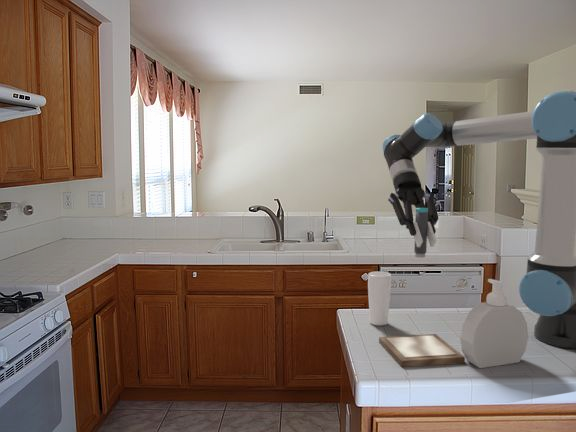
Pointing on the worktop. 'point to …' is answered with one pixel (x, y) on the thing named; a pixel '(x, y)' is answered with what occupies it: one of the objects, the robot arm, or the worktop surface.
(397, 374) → the worktop surface
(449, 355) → the writing board
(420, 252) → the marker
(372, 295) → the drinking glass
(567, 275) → the robot arm
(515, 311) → the soap bottle
